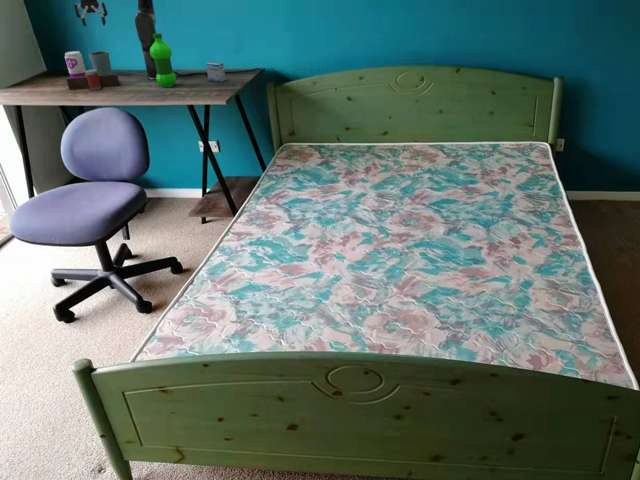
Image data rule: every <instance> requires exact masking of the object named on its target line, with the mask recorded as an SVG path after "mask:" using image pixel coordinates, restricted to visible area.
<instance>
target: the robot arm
mask: <svg viewBox="0 0 640 480" xmlns="http://www.w3.org/2000/svg"><path fill="white" fill-rule="evenodd" d="M79 1H80V3H74V4H73V7H74V11H75V16H76V18H77V19H78V18H79V19H81V23H82V25H83V26H84V27H86V28H87V22H86V18H85V16H86V14H91V13H93V14H95V13H96V14H98V15H99V16H100V17H101V22H102V26H104V27H105V25H106V24H107V22H106V19H105V18H106V17H107V16H108V14H109V13H108V9H107V7H106V4H105V2H104V1H102V2H98V0H79ZM99 6H100V7H101V8H102V10H103V12H102V10H100V9H99ZM154 7H155V6H154V0H137V13H136V14H135V16H134V25H135V30H136V34H137V37H138V40H139V43H140V46H141V47H140V48H141V51H142V56H143V61H144V65H145V69H146V74H147V78H148V80H150V81H157V80H156V77H157V70H156V66H155V61H154V59H153V58H152V57H151V55H150V47H151V46H152V45H153V43H154V42H155V39H154V38H153V34H154V33H157V30H156V26H155V25H156V22H157V19H156V13H155V8H154ZM80 8H81V9H83V11H82V13H81V14H80V10H79V9H80ZM257 70H259V71H261V72H263V71H264V70H263V69H262V68H260V67H255V68H253V69H244V70H233V71H224V72H225V74H237V73H247V72H254V71H257ZM173 72H174V74H175V75H177V76H179V77H189V76H192V75H208V73H207V71H206V72H205V71H204V72H203V71H201V72H190V73H187V74H180V73H178V72H177V71H174V70H173Z"/></svg>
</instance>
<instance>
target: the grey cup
mask: <svg viewBox="0 0 640 480" xmlns="http://www.w3.org/2000/svg"><path fill="white" fill-rule="evenodd" d="M88 57H89V60H90V63H91V66H92V69H96V70H97V72H98V75H105V74H113V69H112V65H111V59H110V52H109V51H108V50H97V51H91V52H88Z"/></svg>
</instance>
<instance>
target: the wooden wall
mask: <svg viewBox="0 0 640 480" xmlns="http://www.w3.org/2000/svg"><path fill="white" fill-rule="evenodd" d="M65 79H66V82H67V86H68V89H69V91H72V90H83V89H90V87H89V84H88V80H87V77H86V76H83V77H72V78H71V77H66V78H65ZM99 79H100V83H101V87H102V88H105V87H115V86H116V87H117V86H120V83H121V82H120V80H119V77H118V73H117V72H116V73H112V74H105V75H99Z"/></svg>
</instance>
